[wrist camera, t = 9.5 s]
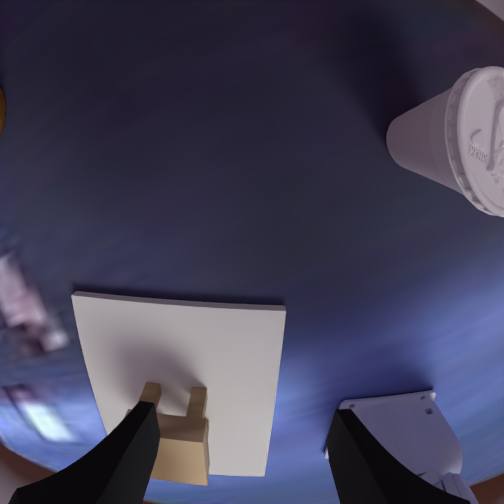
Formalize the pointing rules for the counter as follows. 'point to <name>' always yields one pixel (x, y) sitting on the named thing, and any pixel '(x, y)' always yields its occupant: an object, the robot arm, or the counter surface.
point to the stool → (181, 439)
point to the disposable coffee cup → (2, 110)
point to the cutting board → (188, 366)
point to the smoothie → (458, 138)
